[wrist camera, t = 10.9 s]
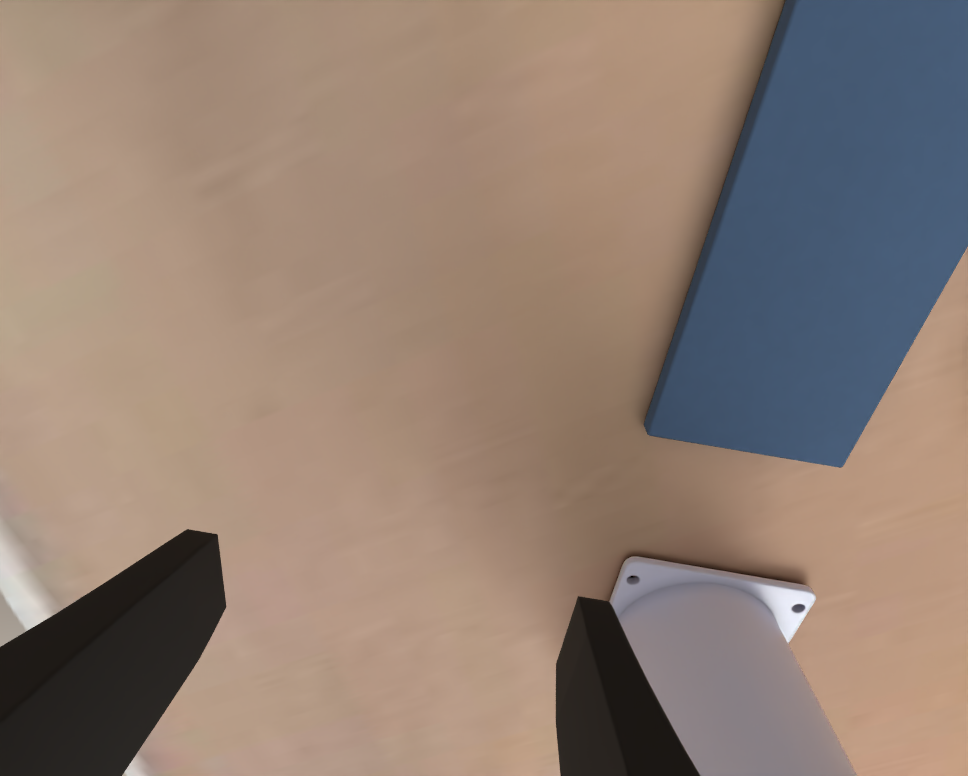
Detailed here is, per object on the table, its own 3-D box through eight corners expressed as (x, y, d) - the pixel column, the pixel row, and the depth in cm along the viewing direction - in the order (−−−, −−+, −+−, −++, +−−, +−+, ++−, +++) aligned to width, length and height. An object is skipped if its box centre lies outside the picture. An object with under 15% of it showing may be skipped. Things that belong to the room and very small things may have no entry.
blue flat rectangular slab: (830, 456, 18) (842, 469, 18) (642, 425, 18) (647, 436, 18) (1089, -18, 12) (1125, -28, 11) (805, -62, 12) (822, -76, 11)
